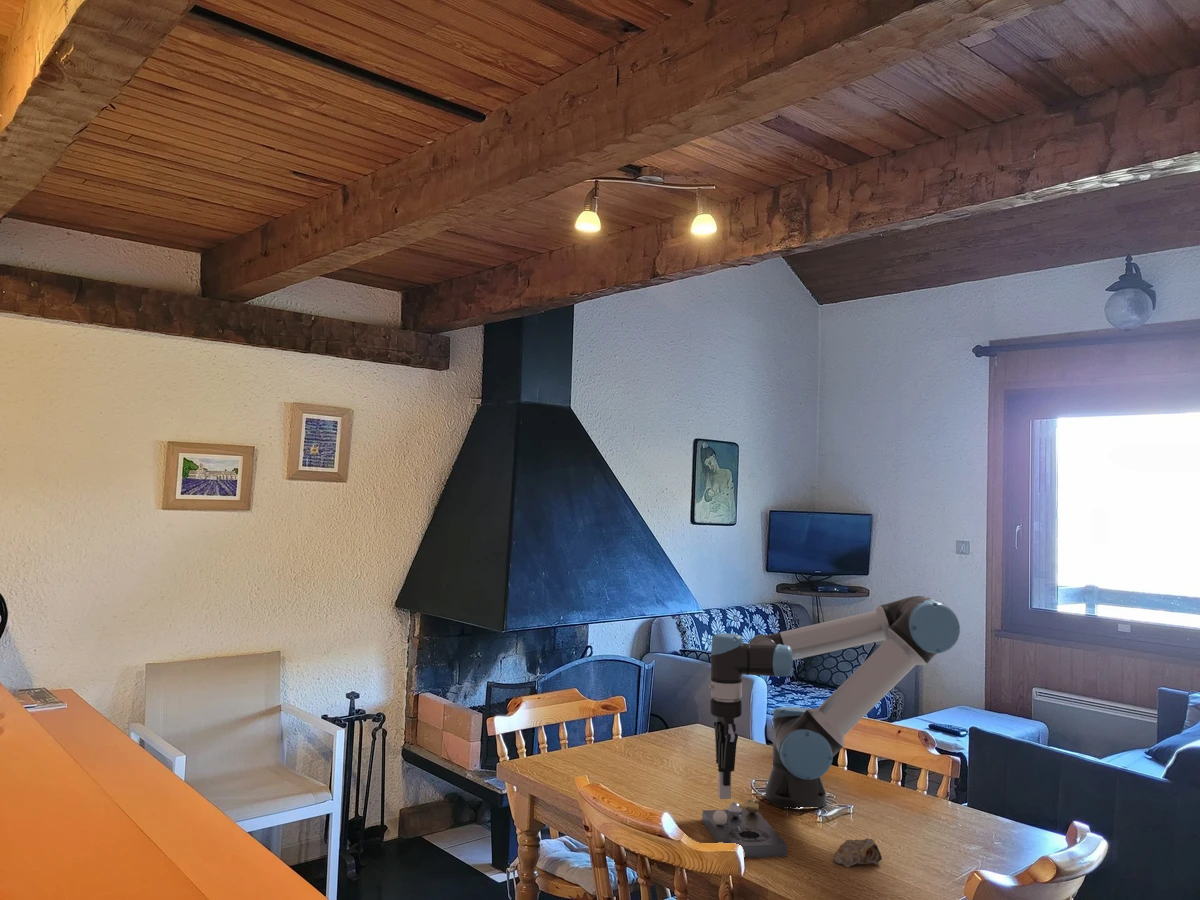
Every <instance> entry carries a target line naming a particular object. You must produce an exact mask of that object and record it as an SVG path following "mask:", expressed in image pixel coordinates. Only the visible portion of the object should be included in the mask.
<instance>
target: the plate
mask: <svg viewBox="0 0 1200 900" xmlns="http://www.w3.org/2000/svg"><path fill="white" fill-rule="evenodd" d="M717 810H718V809H710V810H709V809H707V810H706V809H704V810H703V809H702V813H701V814H702V823H703V824H704V826H705V827H706V829H707V830H708V832H709V833H710V835H711V836H712V838H713V839H714V841H715V842H716V843H717V842H723V843H736V844H739V845H741V846H742V847H743V849H744V852H745V857H746V858H745V859H749V858H751V859H752V858H781V857H782V858H783V857H784V858H785V857H788V844H787V843H786V841H784V839H783V838H782V836H780V834H778V833H777V831H776V830H775V829H774V828H773V827H772V826H771V824H770V823H769V822H768V821H767V820H766V819H765V817H763V815H762V814H761V813H760V812H759V810H758V811H757V812H756V813H749V812H748V811H747V810H746V808H745V809H743V808H742V814H741V815H740V816H739V817H737V818H735V817H732V816H731V815H730V814H729V811H728V809H722V810H723V811H724V812H725V813H726V814H727V821H726V823H725V824H723V825H718V824H716V823H715V822H714V820H713V814H714V813H715V811H717Z"/></svg>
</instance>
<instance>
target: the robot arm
mask: <svg viewBox="0 0 1200 900" xmlns="http://www.w3.org/2000/svg"><path fill="white" fill-rule="evenodd" d="M960 632H961V626H960V620H959V619H958V616H957V615H956V613H955V612H954V611H953V610H952V609H951V607H949V606H948V605H947V604H945V603H944V602H942V601H939V600H937V599H932V598H930V597H926V596H922V595H913V596H909V597H906V598H902V599H898V600H895V601H894V600H893V601H892V602H888V603H885V604H880V605H877V607H876V608H875V610H873V611H868V612H864V613H859V614H855V615H854V614H853V615H850V616H846V617H842V618H841V617H840V618H837V619H833V620H829V621H824V622H823V621H822V622H819V623H815V624H811V625H806V626H801V627H798V628H792V629H789V630H784V631H780V632H775V633H771V634H763V633H762V634H757V635H754V636H753V637H752V638H751V639H750V641H749V642H748V643H746V642H744V640H743V636H742V635H740V634H737V633H727V632H726V633H717V634H715V635H713V637H712V639H711V647H710V648H711V651H710V683H711V684H709V685H708V689H710V697H711V699H710V704H709V706H710V709H709V712H710V714H711V716H713V717H716V718H717V721H714V722H713V727H714V738H715V739H714V741H715V742H714V743H715V757H716V759H715V760H716V761H715V762H716V764H717V767H718V768H717V771H718V798H719V799H720V800H731V799H732V772H735V766H736V765H735V764H736V754H737V744H738V739H739V734H738V733H736V731H737V730H736V724H735V718H739V717H741V716H742V715H743V713H742V711H743V710H742V707H743V706H742V705H743V704H742V700H741V699H742V698H743V675H744V676H745V675H746V676H762V677H763V676H766V677H776V678H778V677H790V676H791V675H792V673H793V667H794V666H793V665H794V661H795V660H799V659H803V658H809V657H812V656H813V657H814V656H817V655H818V656H819V655H822V654H826V653H827V654H828V653H830V652H831V653H832V652H836V651H840V650H844V649H849V648H854V647H859V646H863V645H867V644H872V643H877V642H881V641H884V642H883V643H882V644H880V646H878V648H877V649H876V650H875V651H874V652H873V653H871V655H870V656H869V657H867V658H866V660H865V661H863V663H862V664H861V665H859V666H858V667H857V668H856V669H855V671H854V672H853V673H852V674H850V675H849V676H848V678H846V679H845V680H844V681H843V683H841V684H840V685H839V686H838V688H837V689H835V691H833V692H832V694H831V695H829V697H827V698H826V699H825V700H824V701H823V702H822V703H821V704H820V706H819V707H816V708H807V707H793V706H792V707H791V706H785V707H784V706H783V707H782V706H781V707H776V708H775V709H774V710H773V714H772V768H771V770H770V774H769V776H768V780H767V784H766V786H765V790H764V791H765V795H766V798H765V800H766V799H767V800H766V801H767V802H769V803H770V804H772V805H774V806H777V807H780V808H784V807H788V808H787V809H789V808H790V807H791V808H796V807H798V808H800V807H820V806H823V805H825V804H827V792H826V789H825V785H824V782H823V779H822V776H824V775H825V774H826V773H827V772H828V771H829V769H830V768H831V766H832V763H833V758H834V757H835V756H836V754H838V752H840V751H841V750H842V749H843V748H844V747H845V736H846V735H847V734H848V733H850V731H851V730H852V729H853V728H854V727H855V726H856V725H857V724H858V723H859V722H860V721H861V720H862V719H863V718H864V717H865V716H866V715H867V714H868V713H869V712H870V711H872V709H873V708H874V707H875V706H876V705H877V704H878V703H879V702H880V701H881V700H882V699H883V698H884V697H885V696H886V695H887V694H888V693H889V692H890V691H892V689H893V688H894V687H896V685H897V684H898V683H899V682H901V680H902V679H903V678H904V677H905V676H906V675H907V674H908V673H909V672H910V671H912V669H913V668H914V667H915V666H919V665H920V666H927V664H928V663H929V662H930V661H931V660H932V659H934V657H935V656H936V655H937V654H943V653H944V652H947V651H949V650H951V649H952V648H953V647H954V645H956V644H957V642H958V640H959V637H960ZM825 806H826V805H825ZM823 807H824V806H823Z"/></svg>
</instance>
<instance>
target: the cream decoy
mask: <svg viewBox="0 0 1200 900" xmlns="http://www.w3.org/2000/svg"><path fill="white" fill-rule="evenodd" d="M716 810H717V811H715V813H714V814H713V820H714V822H715V823H716V824H718V825H723V824H725V823H726V821H727V814H726V813H725V812H724V811H723V810H724V809H716Z"/></svg>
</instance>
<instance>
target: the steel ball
mask: <svg viewBox="0 0 1200 900" xmlns="http://www.w3.org/2000/svg"><path fill="white" fill-rule="evenodd" d="M742 809H743V807H742V806H741V804H740V803H738V802H732V803H730V805H729V806H728V809H727V810H728V811H729V814H730V815H731V816H732V817H735V818H737V817H739V816H740V815H741V814H742Z"/></svg>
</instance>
